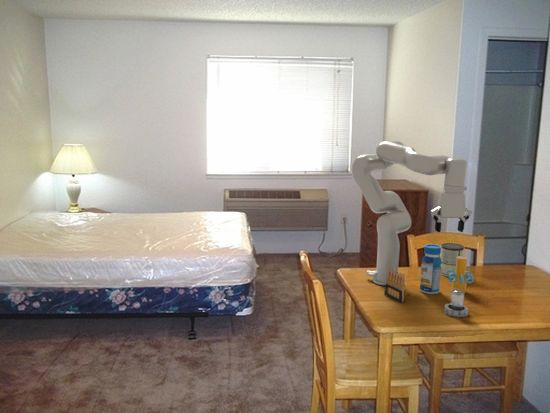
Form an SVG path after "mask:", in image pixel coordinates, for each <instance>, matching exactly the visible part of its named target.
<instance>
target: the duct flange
mask: <svg viewBox="0 0 550 413" xmlns="http://www.w3.org/2000/svg"><path fill="white" fill-rule="evenodd" d="M450 305H451V302H449V303H445V304H444V308H443V313H444V314H445V315H446V316H449V317H453V318H460V319H462V318H467V317H469V308H468V306H466V305H464V304H463V310H453V309H450Z"/></svg>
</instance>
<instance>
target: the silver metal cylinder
mask: <svg viewBox="0 0 550 413" xmlns="http://www.w3.org/2000/svg"><path fill="white" fill-rule="evenodd" d="M450 294H451V295H450V296H451V297H450V303H451V305H450V309H453V310H463V305H464V298H465V293H464V291H463V290H459V289H453V290H452V289H451V292H450Z"/></svg>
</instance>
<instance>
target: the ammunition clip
mask: <svg viewBox="0 0 550 413" xmlns="http://www.w3.org/2000/svg"><path fill="white" fill-rule="evenodd" d="M405 281H406V280H405V274H404V273H402V272H399V270H398V271H397V274H396V271H395V270H394V273H393V269H392V270H391V272H390V268H389V269H388V274H387V283H386V286H385V287H384V288H385V289H384V295H385V296H386V295H387V296H386V297H389V298H390V299H392V300H394V301H397V302H398V303H400V304H404V303H406V290H405V287H406V285H405Z"/></svg>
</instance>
